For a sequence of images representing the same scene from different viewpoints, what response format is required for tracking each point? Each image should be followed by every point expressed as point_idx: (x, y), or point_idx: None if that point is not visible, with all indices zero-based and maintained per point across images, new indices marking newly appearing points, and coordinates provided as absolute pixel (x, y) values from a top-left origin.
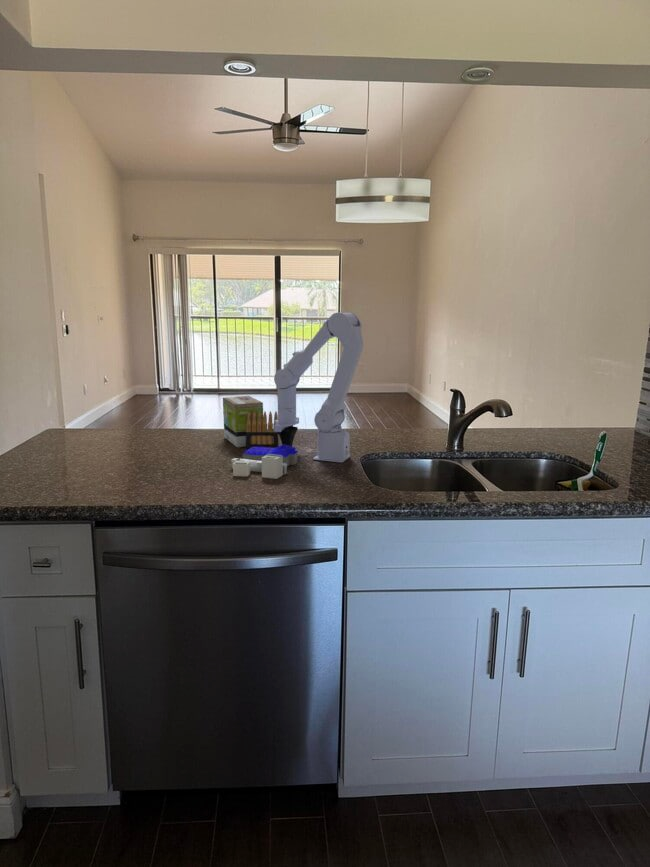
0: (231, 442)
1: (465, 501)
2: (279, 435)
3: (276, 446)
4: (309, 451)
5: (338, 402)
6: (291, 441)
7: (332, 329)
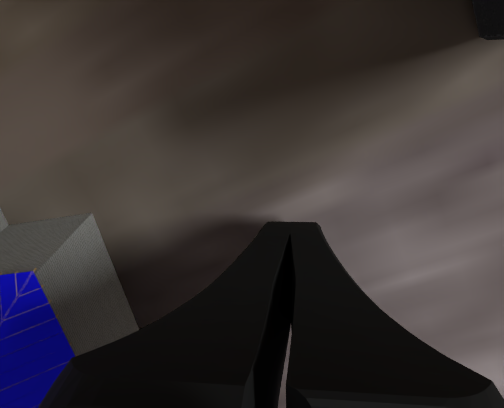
0: None
1: None
2: (153, 330)
3: (489, 12)
4: None
5: None
6: (277, 390)
7: None
